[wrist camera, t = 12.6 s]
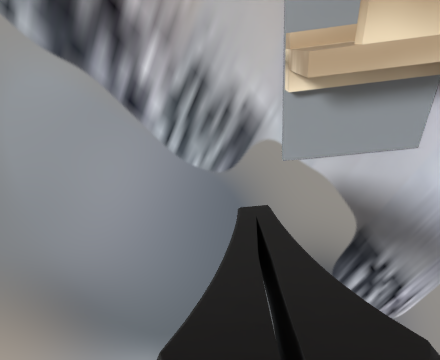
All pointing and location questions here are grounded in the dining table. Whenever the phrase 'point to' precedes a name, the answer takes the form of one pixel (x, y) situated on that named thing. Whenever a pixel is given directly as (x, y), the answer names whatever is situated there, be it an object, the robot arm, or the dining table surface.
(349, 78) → the wooden stand
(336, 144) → the slate mat
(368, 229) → the dining table surface
